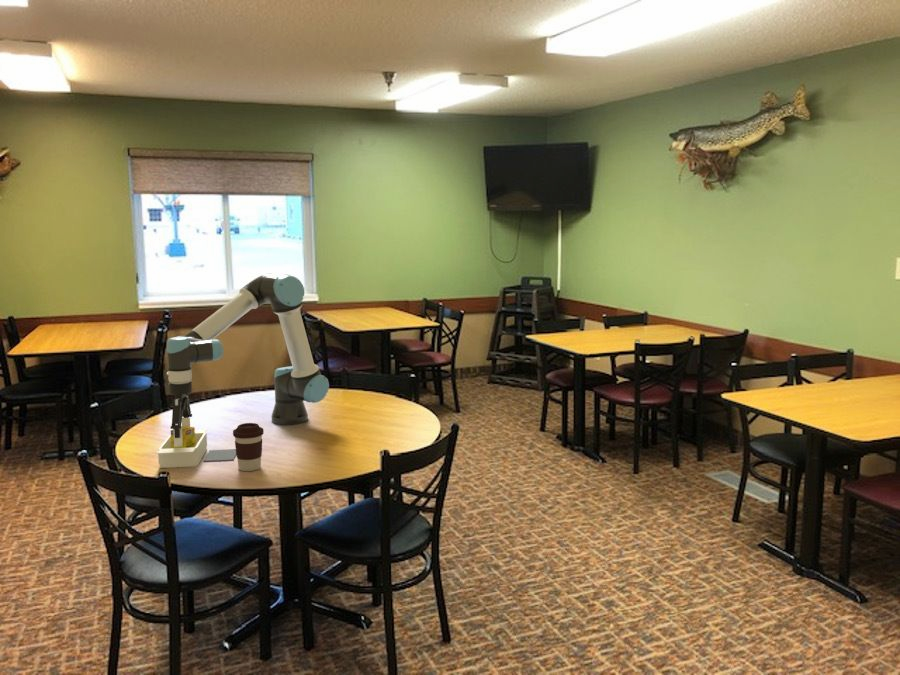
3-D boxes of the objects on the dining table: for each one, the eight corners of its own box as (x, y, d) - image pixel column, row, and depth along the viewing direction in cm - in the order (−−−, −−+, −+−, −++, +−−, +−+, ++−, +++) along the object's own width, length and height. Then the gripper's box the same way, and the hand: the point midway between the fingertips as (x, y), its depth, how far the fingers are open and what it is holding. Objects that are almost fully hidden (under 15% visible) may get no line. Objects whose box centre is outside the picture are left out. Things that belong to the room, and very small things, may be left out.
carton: (209, 446, 260) (208, 429, 259) (195, 470, 234) (194, 451, 233) (173, 447, 258) (172, 430, 257) (156, 471, 232) (155, 453, 231)
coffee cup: (237, 463, 240) (236, 421, 238) (267, 463, 241) (265, 421, 239) (231, 473, 231) (229, 429, 228) (261, 472, 232) (260, 429, 229)
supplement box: (187, 461, 242) (185, 431, 240) (171, 460, 243) (169, 430, 242) (196, 456, 248) (195, 426, 246) (181, 455, 249) (179, 425, 247)
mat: (237, 450, 255) (237, 448, 255) (233, 460, 244) (233, 459, 244) (209, 451, 254) (209, 450, 254) (203, 461, 242) (203, 460, 242)
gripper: (176, 374, 253) (178, 431, 256) (160, 389, 229) (162, 451, 232) (198, 374, 254) (200, 430, 257) (183, 389, 230) (186, 451, 233)
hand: (182, 440), depth 244 cm, fingers open, 13 cm apart
